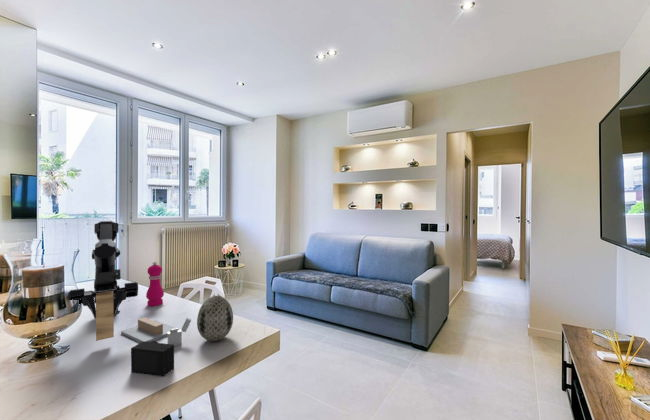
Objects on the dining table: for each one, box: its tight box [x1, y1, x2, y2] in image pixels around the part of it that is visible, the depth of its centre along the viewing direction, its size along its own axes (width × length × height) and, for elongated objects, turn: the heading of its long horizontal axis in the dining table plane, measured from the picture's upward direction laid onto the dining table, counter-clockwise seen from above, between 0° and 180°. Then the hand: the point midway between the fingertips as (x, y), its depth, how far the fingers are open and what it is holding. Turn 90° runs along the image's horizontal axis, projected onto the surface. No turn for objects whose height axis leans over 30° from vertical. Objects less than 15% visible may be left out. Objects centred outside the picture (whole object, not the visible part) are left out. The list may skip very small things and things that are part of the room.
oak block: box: [95, 291, 115, 342], centre depth 96 cm, size 4×4×14 cm
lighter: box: [166, 317, 192, 347], centre depth 99 cm, size 7×2×8 cm, turn 119°
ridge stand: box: [120, 317, 180, 343], centre depth 107 cm, size 16×12×4 cm
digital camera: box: [130, 340, 175, 377], centre depth 83 cm, size 10×5×7 cm, turn 79°
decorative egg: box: [196, 295, 234, 342], centre depth 101 cm, size 12×12×15 cm
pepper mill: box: [145, 261, 165, 307], centre depth 138 cm, size 7×7×20 cm
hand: (104, 316), depth 95 cm, fingers closed on oak block, 4 cm apart
